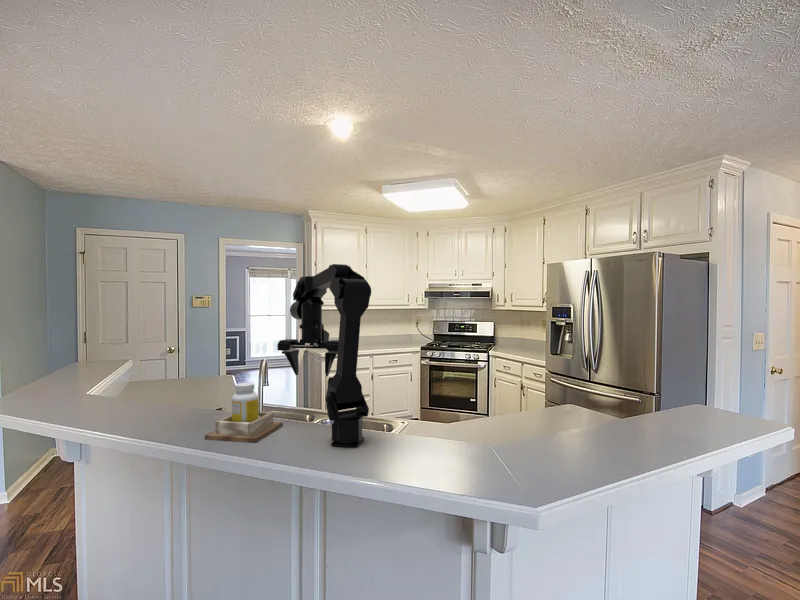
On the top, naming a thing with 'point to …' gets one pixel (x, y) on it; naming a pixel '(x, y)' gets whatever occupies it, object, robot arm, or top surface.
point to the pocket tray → (244, 429)
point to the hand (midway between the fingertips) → (311, 375)
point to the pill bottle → (244, 403)
